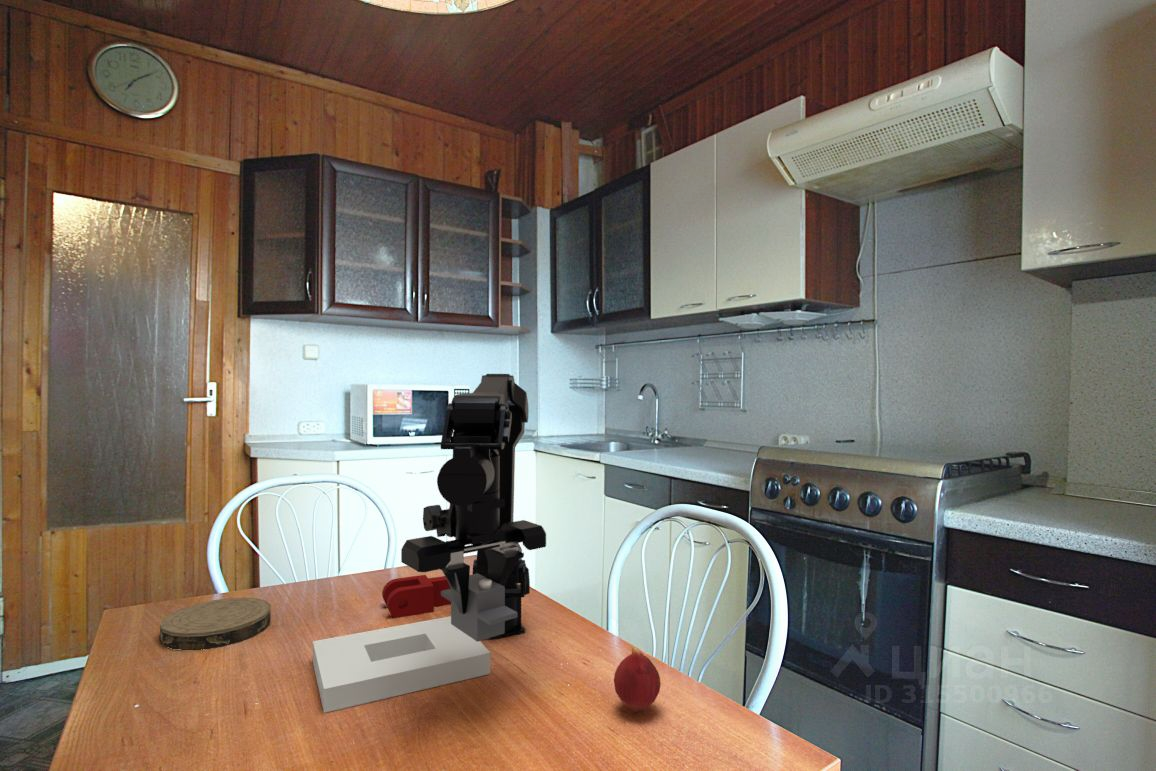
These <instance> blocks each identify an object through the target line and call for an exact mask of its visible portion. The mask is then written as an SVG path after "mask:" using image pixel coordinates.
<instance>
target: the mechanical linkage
mask: <svg viewBox="0 0 1156 771" xmlns="http://www.w3.org/2000/svg"><path fill="white" fill-rule="evenodd" d="M448 589H451V588H450V585H449V583H448V581H447V579H446V577H445V575H444V576H443V575H441V576H436V577H428V576H427V575H426V574H420V575H414V576H412V575H411V576H406V577H399V578H398V577H397V578H393V579H390V580H389V581H387V583H386V584H385V585H384V586H383V588H382V591H381V592H382V593H381V594H382V595H381V596H382V599H383V601H384V603H385V605H386V607H387V609H388V612H389V614H390V615H391V616H392V617H393V618H395V619H398V618H399V619H400V618H405V617H411V616H417V615H418V616H419V615H424V614H429V613H434V612H435V609H434V608H437V607H444V606H451V601H449V600H448V599H446V598H444V597H443V596H441V591H443V590H448Z"/></svg>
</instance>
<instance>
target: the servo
mask: <svg viewBox="0 0 1156 771" xmlns="http://www.w3.org/2000/svg"><path fill="white" fill-rule="evenodd" d="M441 596H443V597H444V598H446V599H448V600H449V601H451V605H450V616H451V624H452V625H453V626H455V627H456V628H458V629H459V630H461V631H462V632H464V633H465V634H467V635H468V636H470V637H471V638H472V639H474V640H475V641H477V642H478V641H480V642H482V641H484V640H487V639H488V640H489V638H491V637H494V636H498V635H501V634H504V633H505V621H507V620H510V619H513V618H517V617H518V612H516V611H514V610H512V609H510V608H508V607H507V606H505V587H504V586H502V585H500V584H498V583H496V582H494V581H492V580H490V579H488V578H486V577H484V576H482V575H480V574H478V573H477V574H473V573H472V574H470V575H469V589H468V603H467V609H466V613H465V614H461V613H460V612H459V610H458V607H457V605H456V602H455V599H454V596H453V594H452V591H451V589H448V590H443V591H441Z"/></svg>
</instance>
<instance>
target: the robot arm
mask: <svg viewBox="0 0 1156 771" xmlns="http://www.w3.org/2000/svg"><path fill="white" fill-rule="evenodd" d="M480 380H481V381H480V383H479V384H478V385H477V387H476V388H474V391H473V392H467V393H459V394H455V395H454V396H453V398H452V400H451V402H450V403H447V407H446V413H445V418H444V423H443V430H442V436H441V441H440V450H452V457H451V458H450V459H448V460H447V461H446V462H444V464H443V465H442V466H441V467H440V469H439V472H438V474H437V478H436V485H437V489H438V491H439V493H440V496H441V497H442V498H443V499H444V500H445V501H446V502H448V503H449V508H446V509H442V506H441V504H434V505H427V506H425V507H423V508H422V509H423V511H422V512H423V514H422V522H423V529H424V530H425V532H429V531H430V532H431V531H436V536H437V537H435V536H433V535H428V536H422V537H417V538H411V539H406V541H405V542H404V544H403V545H402V548H401V549H400V550H401V556H400V557H401V563H403V564H404V565H406V566H407V567H409V568H411V569H413V570H415V571H416V572H418V573H427V572H433V571H439V570H440V571H442V573H443V575H444V576H445V577H446V579H447V581H448V583H449V585H450V588H451V591H452V594H453V596H454V599H455V602H456V605H457V607H458V610H459V612H460V613H461V614H465V613H466V609H467V603H468V589H469V575H471V574H470V572H471V571H470V570H471V565H469V564H467V563H466V562H464V560H465V558H464V554H465V555H466V554H468V553H474V552H476V559H474V560H473V564H472V574H477V573H478V574H480V575H482V576H484V577H486V578H488V579H490V580H492V581H494V582H496V583H498V584H500V585H502V586H504V587H505V606H507V607H508V608H510V609H512V610H514V611H516V612H518V617H517V618H513V619H510V620H507V621H505V633H504V634H501V635H498V636H494V637H491V638H488V640H492V639H498V638H502V637H507V636H511V635H517V634H522V633H525V632H526V628H525V627H524V626H523V625H522V598H525V596H527V595H529V594H530V592H531V590H530V589H531V585H530V570H529V569H530V568H529V567H528V566H527V564H526V560H525V559H523V558H524V556H525V552H523V550H522V546H523V547H525V549H526V550H529V551H532V550H538V549H542V548H546V547H547V533H546V531H545V529H544V527H543V525H541V524H537V523H534V522H532V521H528V520H525V519H522V520H517V521H514V508H515V506H514V505H515V504H514V502H515V468H516V467H515V465H516V464H515V461H516V447H517V445H518V444H519V443H520V440H521V439H522V437H523V435H524V434H525V425H526V423H528V422H529V411H530V410H529V402H528V393H527V392H526V391H525V390H524V389H523V388H522V387H521V386H519V385H518V384H517V383H516V382H515V376H514V375H513V374H512V375H510V373H486V374H485V375H483V374H482V376H481V379H480ZM445 536H446V537H449V538H455V539H453V540H447V541H444V540H442V539H439V538H440V537H441V538H442V537H445ZM520 543H522V546H521V545H520Z"/></svg>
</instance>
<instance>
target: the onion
mask: <svg viewBox="0 0 1156 771" xmlns="http://www.w3.org/2000/svg"><path fill="white" fill-rule="evenodd" d="M613 684H614V691H615V693H616V695H617V698H619V699H620V701H621V702H622V703H624V705H626V706H627V707H628V708H629V709H630V710H631V711H633V712H634V713H638V712H640V711H643V710H644V709H646V708H648V707H649V706H651V705H652V704H653V703H655V701H656V699H657V697H658V696H659V693H660V689H661V677H660V674H659V671H658V669H657V667H656V666H655V664H653V662H652V660H651V659H650V658H649V657H648V656H646V655H644V654H643V653H642V652H641V651H640V649H639V648H638V646H633V647H632V648H631V653H630V654H629V655H627V656H626V657H625V658H623V659H622V660H621V661H620V663H619V665H618V666H617V667H616V669H615V673H614V677H613Z"/></svg>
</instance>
